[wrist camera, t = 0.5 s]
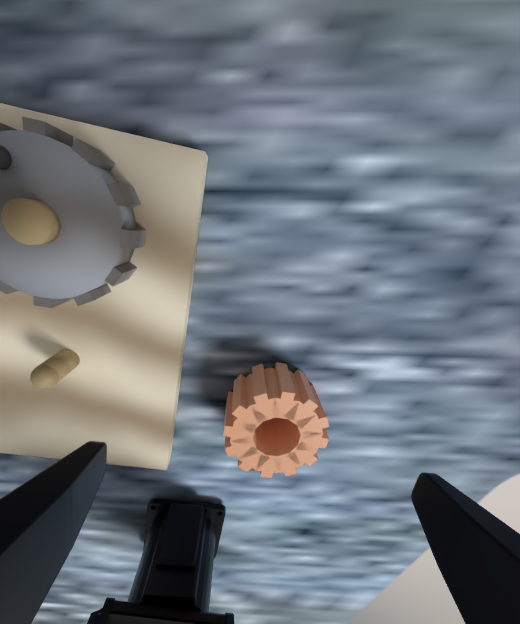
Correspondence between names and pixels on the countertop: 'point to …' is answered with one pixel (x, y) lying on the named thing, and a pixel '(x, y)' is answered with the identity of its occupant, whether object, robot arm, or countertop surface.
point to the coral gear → (274, 421)
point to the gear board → (110, 323)
